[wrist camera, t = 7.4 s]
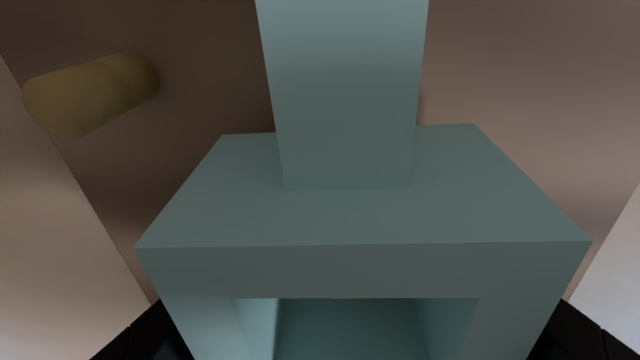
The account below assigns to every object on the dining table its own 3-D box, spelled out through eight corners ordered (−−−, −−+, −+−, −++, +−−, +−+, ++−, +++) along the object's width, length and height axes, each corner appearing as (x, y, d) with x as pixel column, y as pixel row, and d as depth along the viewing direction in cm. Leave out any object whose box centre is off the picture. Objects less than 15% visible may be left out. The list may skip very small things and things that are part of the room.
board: (530, 336, 16) (579, 425, 13) (182, 334, 18) (147, 413, 15) (845, -242, 6) (1549, -562, 2) (-74, -125, 7) (-422, -224, 4)
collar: (437, 290, 12) (484, 431, 8) (263, 290, 12) (231, 423, 9) (537, -180, 5) (1105, -657, 1) (151, -132, 6) (-222, -376, 2)
